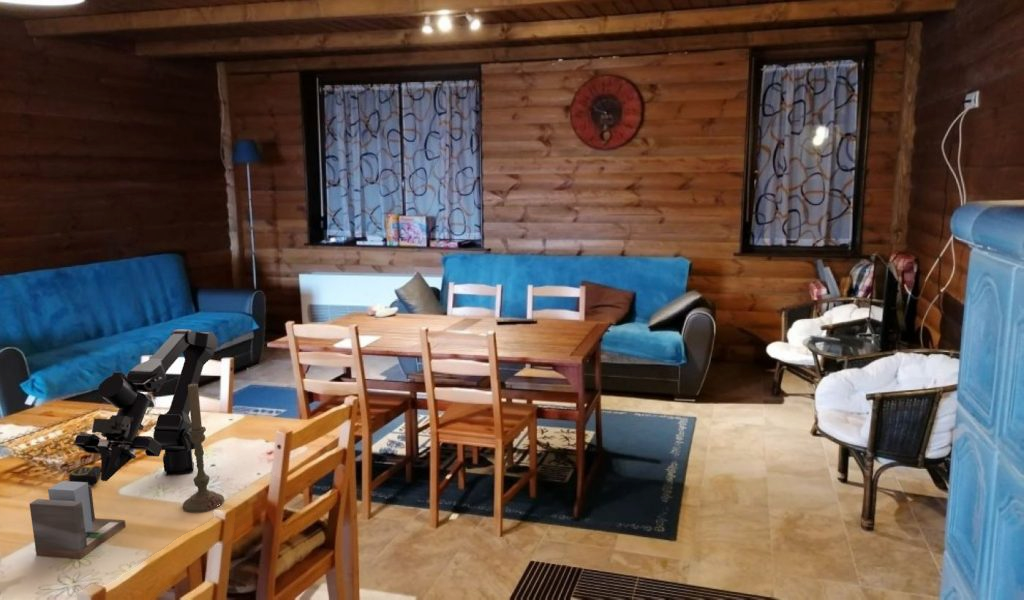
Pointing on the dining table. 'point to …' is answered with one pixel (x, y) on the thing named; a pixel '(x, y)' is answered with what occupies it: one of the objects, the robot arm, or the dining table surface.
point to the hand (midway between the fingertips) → (103, 480)
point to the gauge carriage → (76, 499)
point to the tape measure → (85, 475)
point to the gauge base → (67, 529)
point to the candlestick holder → (199, 460)
